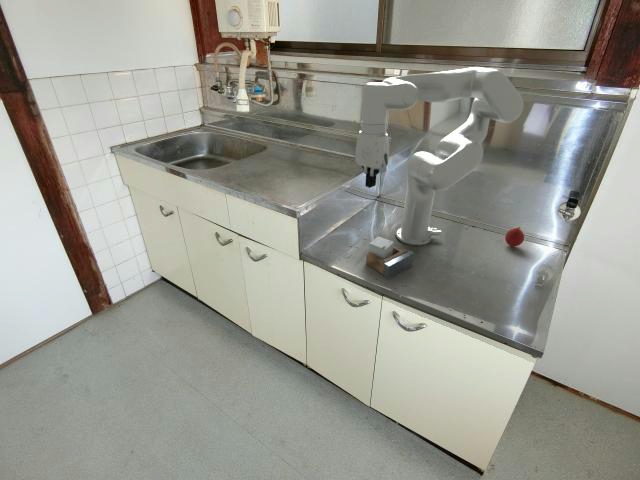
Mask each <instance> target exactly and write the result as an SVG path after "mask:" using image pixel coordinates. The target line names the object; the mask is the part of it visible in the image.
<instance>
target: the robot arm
mask: <svg viewBox="0 0 640 480" xmlns="http://www.w3.org/2000/svg"><path fill="white" fill-rule="evenodd" d="M471 98H474V99H473V101H472V103H471V109H470V113H469V116H468V118H467V120H466V121H465V122H464V123H463V124H462V125H460V126H459V127H457V128H456V129H454V130H453V131H452V132H450V133H449V134H448V135H446V136H444V137H443V138H442V139H441V140H440V141H438V142H437V144H436V146H435V149H434V153H435V154H433V153H431V152H428V151H423V150H422V151H417V152H415V153H413V154H412V155H411V156H410V157H409V159H408V161H407V163H406V180H407V181H406V192H405V198H404V199H405V200H404V206H403V213H402V221H401V227H400V228H398V229H397V231H396V234H395V236H396V239H397V240H399V241H400V242H402V243H404V244H406V245H410V246H424V245H427V244H429V243H430V242H431V241H432V237H433V236H435V237H436V236H437V237H441V236H442V234H443V233H442V230H438V228H437V227H431V226H430V223H431V215H432V211H433V207H434V206H433V205H434V200H435V192H436V191H438V192H441V191H445V190H447V189H449V188H450V187H452V186H453V185H455V184H456V183H458V182H460V180H462V179H464V178H466V177H467V176H468V175H469V174H471V173H472V172H473V171H475V170H476V169H477V168H478V167H479V165H480V164H481V162H482V160H483V157H484V148H483V146H482V145H481V143H482V142H483V141H484V140H486V137H487V136H488V130H489V125H490V120H493V121H497V122H500V123H504V124H510V123H512V122H514V121H515V122H516V120H517V119H519V118H520V116H521V115H522V113H523V111H524V103H525V102H524V100H523V99H524V98H523V97H522V95H521V93H520V92H519V91H518V90H517V89H516V88H515V86H514V84H513V83H512V82H511V81H510V79H509V78H508V77H507V76H506V75H505V74H504V73H503V72H502V71H500V70H498V69H495V68H488V67H480V66H474V67H466V68H459V69H453V70H448V71H447V70H446V71H439V72H437V71H436V72H427V73H426V72H425V73H417V74H404V75H399V76H391V77H388V78H385V79H384V80H382V82H376V81H375V82H374V81H373V82H367V83H366V84H365V85H364V86H363V88H362V100H361V101H362V103H361V104H362V105H361V106H362V107H361V121H359V127H360V128H361V130H359V132H358V135H357V139H356V146H355V152H354V153H355V154H354V155H355V156H354V161H355V163H356V164H357V165H358V166H359V167H361V168H362V170H363V173H364V175H365V187H366V188H368V189H370V188H373V187H375V186H376V184H377V175H379V174H381V173H385V172H387V166H388V165H389V158H390V154H389V153H390V149H389V148H390V146H389V145H390V144H389V143H390V142H389V135H388V133H387V132H388V131H387V130H388V119H389V110H397V111H405V110H410V109H411V108H413V107H414V106H415V105H416V104H417V103H418V102H419V101H423V102H428V103H439V104H440V103H446V102H451V101H457V100H458V101H459V100H463V99H471Z"/></svg>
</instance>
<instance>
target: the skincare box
mask: <svg viewBox="0 0 640 480" xmlns="http://www.w3.org/2000/svg"><path fill="white" fill-rule="evenodd" d="M394 244H395V241H394V240H389V239H387V238H384V237H383V236H382V237H381V236H377V237H376V238H375V239H373V240H372V241H371V242H370V243H369V244H368V253H369V252H370V253H372V254H374V255H375V256H377V257H379V258H380V259H382V260H385V259H387V258H389V257H391V256H392V254H393V246H395V245H394Z"/></svg>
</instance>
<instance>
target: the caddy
mask: <svg viewBox="0 0 640 480" xmlns="http://www.w3.org/2000/svg"><path fill="white" fill-rule="evenodd" d="M407 251H409V249H406V248H405V249H401V248H399V247H397V246H395V245H394V246H393V254H392V256H391V257H389V258H387V259H385V260H382V259H380V258H379V257H377V256H375V255H374V254H372V253H370V252H369V251H368V252H367V253H366V257H365V258H366V259H365V261H366V262H365V264H366V265H368V266H369V267H370V268H372V269H374V270H375V271H377V272H378V273H380V274H382V275H383V271H384V263H386V262H388V261H390V260H392V259H394V258H396V257H398V256H400V255H401V254H403V253H405V252H407Z"/></svg>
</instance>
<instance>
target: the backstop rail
mask: <svg viewBox="0 0 640 480" xmlns="http://www.w3.org/2000/svg"><path fill="white" fill-rule="evenodd" d="M414 259H415V252H413V251H412V250H410V249H408V251H407V252H405V253H403V254H401V255H400V256H398V257H396V258H394V259H392V260H390V261H388V262H386V263H384V271H383V274H382V277H383V278H384V279H386V280H387V281H388V280H389V279H392V278H394V277H395V276H397V275H399V274H401V273H403V272H404V271H407V270H408V269H409V268H411V267H413V266H414V265H413V264H414Z"/></svg>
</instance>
